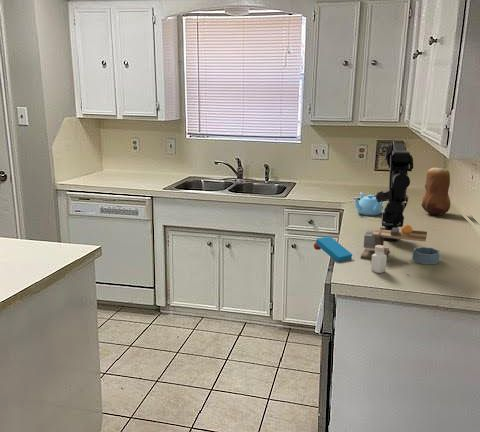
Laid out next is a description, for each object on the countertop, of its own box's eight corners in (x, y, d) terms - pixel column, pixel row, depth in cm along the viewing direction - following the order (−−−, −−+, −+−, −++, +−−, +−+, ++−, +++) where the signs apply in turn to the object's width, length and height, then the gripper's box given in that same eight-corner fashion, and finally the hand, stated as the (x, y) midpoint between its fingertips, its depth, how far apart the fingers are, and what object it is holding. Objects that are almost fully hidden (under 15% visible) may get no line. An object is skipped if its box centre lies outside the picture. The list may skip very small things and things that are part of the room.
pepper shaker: (386, 271, 175) (387, 246, 173) (379, 274, 173) (380, 248, 171) (377, 268, 178) (378, 243, 176) (370, 270, 176) (371, 245, 174)
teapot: (386, 212, 264) (387, 193, 261) (380, 218, 251) (381, 198, 248) (359, 209, 270) (360, 191, 268) (352, 215, 257) (353, 196, 255)
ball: (401, 232, 190) (402, 223, 189) (412, 234, 188) (413, 224, 187) (400, 235, 186) (401, 225, 185) (411, 236, 185) (412, 226, 184)
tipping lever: (367, 241, 199) (368, 224, 197) (425, 247, 190) (427, 229, 188) (363, 247, 191) (364, 229, 189) (424, 254, 182) (425, 235, 180)
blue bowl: (413, 254, 193) (414, 245, 192) (439, 257, 189) (440, 248, 188) (411, 262, 184) (411, 253, 183) (438, 265, 180) (439, 256, 179)
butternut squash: (444, 211, 262) (448, 165, 256) (452, 217, 249) (457, 169, 243) (418, 211, 264) (421, 165, 258) (424, 217, 251) (428, 169, 245)
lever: (348, 269, 192) (321, 245, 205) (352, 254, 188) (324, 231, 202) (334, 272, 188) (308, 248, 202) (338, 257, 185) (311, 234, 199)
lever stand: (366, 248, 202) (367, 225, 200) (389, 250, 198) (390, 227, 196) (360, 258, 190) (361, 234, 187) (384, 261, 186) (385, 236, 184)
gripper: (381, 179, 198) (378, 215, 202) (373, 187, 182) (371, 227, 186) (409, 180, 194) (406, 218, 198) (404, 189, 177) (401, 230, 181)
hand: (396, 223), depth 191 cm, fingers open, 7 cm apart
